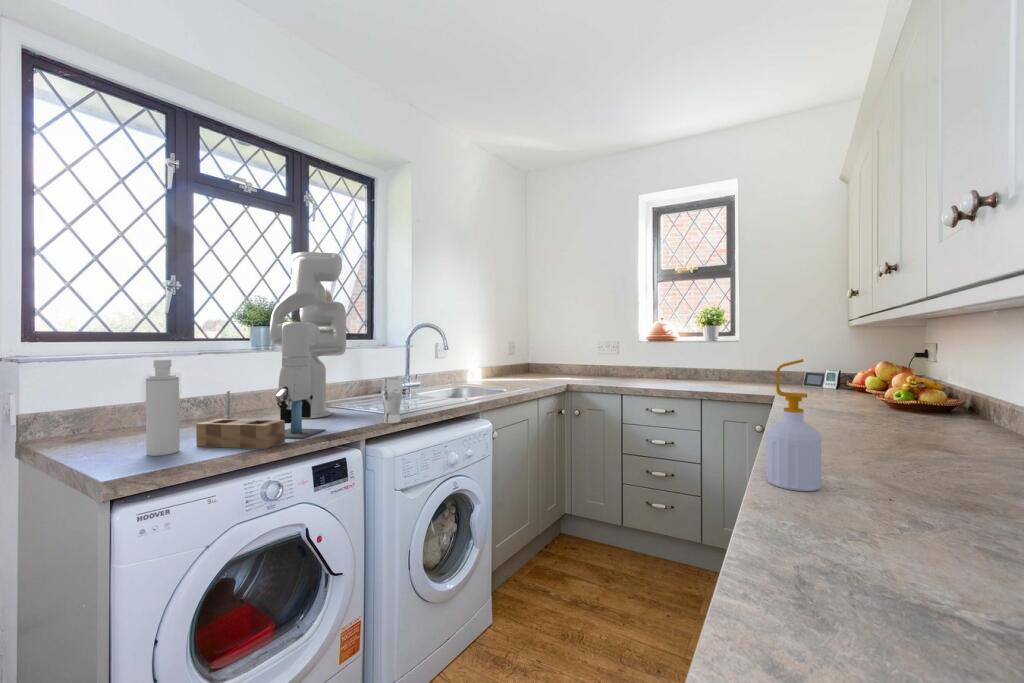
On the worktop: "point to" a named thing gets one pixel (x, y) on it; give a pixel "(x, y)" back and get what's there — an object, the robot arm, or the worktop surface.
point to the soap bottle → (793, 447)
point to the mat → (304, 433)
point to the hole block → (240, 433)
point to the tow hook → (227, 406)
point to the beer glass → (391, 399)
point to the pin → (296, 417)
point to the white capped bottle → (162, 410)
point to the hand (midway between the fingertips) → (296, 420)
